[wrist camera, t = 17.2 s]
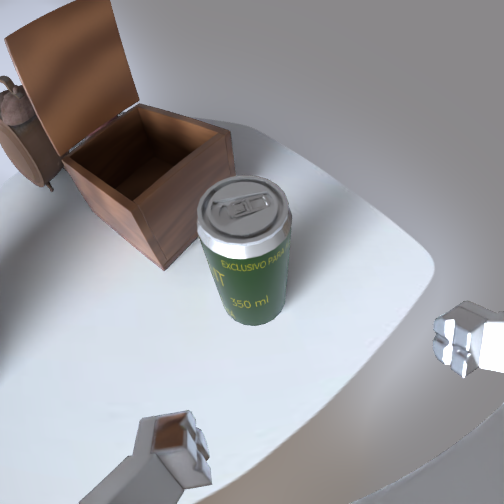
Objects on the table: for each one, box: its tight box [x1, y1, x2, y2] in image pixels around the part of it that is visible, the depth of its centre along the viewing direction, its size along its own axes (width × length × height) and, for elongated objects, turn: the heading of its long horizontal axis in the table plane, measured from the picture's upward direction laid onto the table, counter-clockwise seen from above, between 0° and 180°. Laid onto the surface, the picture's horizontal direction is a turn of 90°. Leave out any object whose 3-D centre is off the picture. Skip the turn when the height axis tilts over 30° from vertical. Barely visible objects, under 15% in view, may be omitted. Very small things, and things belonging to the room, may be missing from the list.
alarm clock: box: [0, 76, 69, 192], centre depth 30 cm, size 15×7×20 cm, turn 62°
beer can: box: [197, 175, 292, 326], centre depth 21 cm, size 5×5×12 cm
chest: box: [62, 104, 236, 271], centre depth 29 cm, size 15×12×9 cm
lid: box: [4, 0, 139, 157], centre depth 22 cm, size 15×12×5 cm
